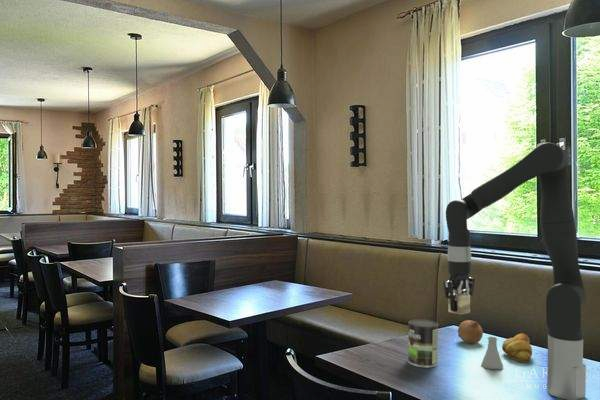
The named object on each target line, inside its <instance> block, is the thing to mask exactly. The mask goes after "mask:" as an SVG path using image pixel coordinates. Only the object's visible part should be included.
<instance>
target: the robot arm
mask: <svg viewBox="0 0 600 400" xmlns="http://www.w3.org/2000/svg"><path fill="white" fill-rule="evenodd" d="M536 177H538V178H539V181H540V189H541V199H540V200H541V201H540V211H539V221H540V222H539V223H540V231H541V237H542V241H543V245H544V247H545V250H546V253H547V255H548V257H549V259H550V262H551V266H552V273H553V275H552V276H553V286H551V287H550V288H549V289H548V291H547V294H546V298H545V319H546V321H545V322H546V327H547V383H546V386H547V387H546V389H547V390H546V391H547V393H548V394H549V395H551V396H553V397H556V398H558V399H563V400H581V399H583V398H586V388H587V387H586V380H587V377H586V376H587V366H586V365H587V364H585V363H584V360H583V359H584V356H583V355H584V329H583V328H582V309H583V307H584V306H585V304H586V303H587V302H586V300H587V295H586V294H587V293H586V290H585V286H584V282H583V279H582V273H581V270H580V269H581V268H580V263H579V249H578V237H577V228H576V222H575V221H576V219H575V215H574V209H573V205H572V204H573V203H572V199H571V196H570V192H569V187H568V156H567V153H566V150H565V149H564V148H562V146H560V145H558V144H556V143H555V142H554V143H553V142H544V143H540V144H539V145H536V147H535V148H533V149H532V150H531V151H530V152H529V153H527V155H525V156H524V157H523V158H522V159H520V160H519V161H518V162H516V163H515V164H514V165H512V166H510V167H509V168H508V169H506V170H504V171H503V172H500V174H497V175H496V176H494V177H493V178H490V179H489V180H488V181H486V182H484V183H482V184H480V185H479V186H477V187H476V188H474V189H473V190H472V191H471V193H469V194H467V195H466V196H464V197H463V198H461V199H454V200H452V201H449V203H448V204H447V206H446V209H445V222H446V227H447V231H448V238H447V239H448V244H447V245H448V247H447V273H448V274H449V280H443V289H444V290H443V291H444V295H445V298H446V299H447V300H448V299H450V308H451V311H454V312H457V299H458V294H460V293H463V294H469V295H470V297H471V296H473V294H474V287H475V278H474V277H470V276H469V275H471V273H472V249H471V231H470V230H469V229H468V219H470V218H472V217H474V216H476V215H477V214H478V213H479V212H480V211H482V210H483V209H485V208H488V207H490V206H491V205H493V204H494V203H496V202H498V201H500V200H501V199H504V198H505V197H507V196H508V195H509V194H510V193H512V192H513V191H514V190H516V189H517V188H518V187H520V186H522V185H523V184H525V183H526V182H529V181H530V180H532V179H534V178H536ZM454 293H455V296H454ZM449 294H450V295H449Z"/></svg>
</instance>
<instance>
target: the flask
mask: <svg viewBox="0 0 600 400" xmlns="http://www.w3.org/2000/svg"><path fill="white" fill-rule="evenodd" d="M487 340H488V341H487V343H488V344H487V349H486V351H485V354H484V357H483V359H482V361H481V366H482V367H483V368H484V369H490V370H503V368H504V365H503V362H502V359H501V357H500V353H499V350H498V345H497V344H498V343H497V342H498V337H496V336H488V337H487Z"/></svg>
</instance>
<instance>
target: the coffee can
mask: <svg viewBox="0 0 600 400" xmlns="http://www.w3.org/2000/svg"><path fill="white" fill-rule="evenodd" d="M407 322H408V323H407V324H408V334H407V335H408V336H407V337H408V338H407V339H408V341H407V342H408V345H407V350H408V351H407V362H408V364H409V365H411V366H414V367H417V368H422V369H423V368H425V369H428V368H429V369H430V368H435V367H437V366H438V351H439V350H438V348H439V347H438V346H439V342H438V341H439V340H438V339H439V323H438V322H437V321H434V320H431V319H423V318H421V319H420V318H415V319H410V320H409V321H407Z"/></svg>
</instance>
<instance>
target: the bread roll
mask: <svg viewBox="0 0 600 400" xmlns="http://www.w3.org/2000/svg"><path fill="white" fill-rule="evenodd" d="M530 343H531V341H530V338H529V336H528V335H527V334H526V333H518V334H516V335H515V336H514V337H510V338H507V339H504V341H503V342H502V344H501V349H502V351H503V352H504V353H505V354H506V356H507V357H508V358H510V359H513V360H516V361H517V362H523V363H528V362H529V361H531V359H532V355H533V348H532V345H531V344H530Z"/></svg>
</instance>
